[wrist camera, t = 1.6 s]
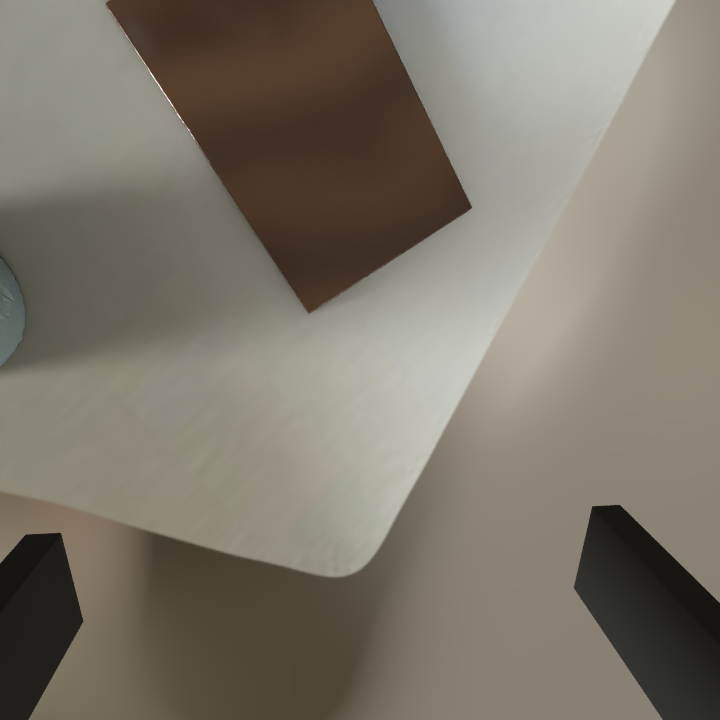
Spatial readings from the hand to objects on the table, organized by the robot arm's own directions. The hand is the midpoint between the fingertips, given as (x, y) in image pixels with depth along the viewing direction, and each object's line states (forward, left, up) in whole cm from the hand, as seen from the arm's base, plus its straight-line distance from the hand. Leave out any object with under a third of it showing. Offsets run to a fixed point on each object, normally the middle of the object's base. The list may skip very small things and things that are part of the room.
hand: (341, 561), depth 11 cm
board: (-12, +9, -18) cm, 23 cm away
